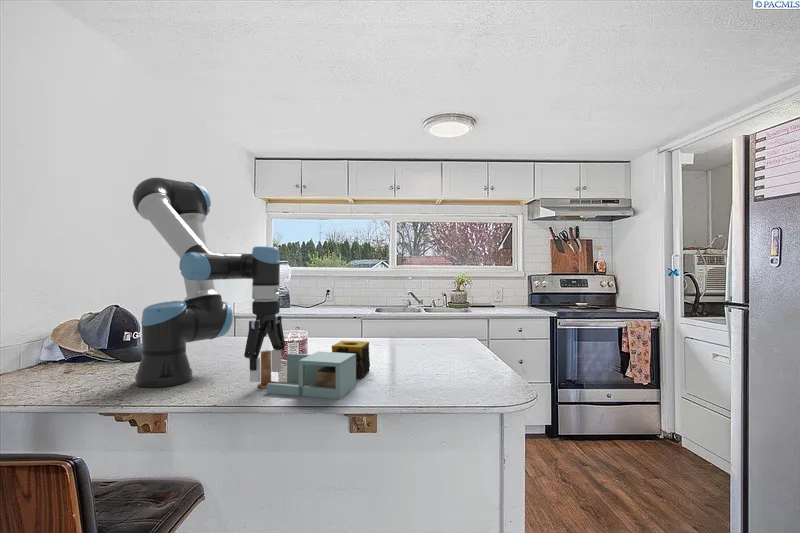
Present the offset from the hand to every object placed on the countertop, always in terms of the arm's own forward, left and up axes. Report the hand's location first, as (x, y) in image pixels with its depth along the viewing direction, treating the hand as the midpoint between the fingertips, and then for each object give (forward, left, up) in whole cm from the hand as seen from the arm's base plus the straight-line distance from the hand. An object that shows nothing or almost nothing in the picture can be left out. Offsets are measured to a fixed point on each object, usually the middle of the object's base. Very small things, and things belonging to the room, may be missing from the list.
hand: (265, 376), depth 130 cm
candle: (+19, +19, -3) cm, 27 cm away
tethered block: (+10, 0, -3) cm, 11 cm away
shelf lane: (+14, 0, -3) cm, 14 cm away
